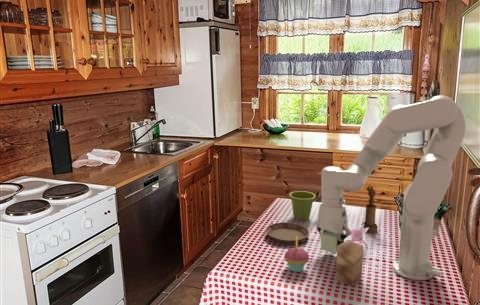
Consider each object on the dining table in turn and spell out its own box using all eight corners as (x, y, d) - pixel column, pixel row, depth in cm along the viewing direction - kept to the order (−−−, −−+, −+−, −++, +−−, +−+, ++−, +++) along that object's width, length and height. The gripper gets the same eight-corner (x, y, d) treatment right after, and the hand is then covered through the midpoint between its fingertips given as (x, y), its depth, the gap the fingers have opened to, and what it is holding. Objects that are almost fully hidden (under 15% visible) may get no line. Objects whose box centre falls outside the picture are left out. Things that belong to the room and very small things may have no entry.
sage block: (343, 248, 144) (343, 233, 143) (334, 253, 140) (334, 238, 139) (329, 243, 148) (329, 229, 147) (320, 249, 144) (320, 234, 143)
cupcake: (283, 262, 140) (283, 231, 137) (307, 262, 139) (308, 231, 137) (285, 274, 131) (285, 242, 129) (310, 275, 131) (311, 242, 128)
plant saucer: (312, 232, 166) (312, 225, 165) (303, 250, 150) (304, 242, 149) (272, 226, 172) (273, 219, 172) (260, 242, 156) (260, 235, 155)
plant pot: (310, 224, 173) (311, 200, 171) (285, 220, 178) (286, 196, 176) (317, 215, 184) (318, 192, 181) (293, 211, 189) (293, 189, 186)
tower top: (362, 262, 127) (363, 245, 126) (353, 269, 123) (354, 251, 122) (346, 256, 131) (347, 240, 130) (336, 262, 127) (337, 245, 126)
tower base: (361, 279, 128) (362, 262, 127) (352, 286, 124) (353, 269, 123) (345, 272, 133) (346, 256, 131) (335, 279, 128) (336, 262, 127)
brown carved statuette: (380, 230, 166) (383, 190, 162) (370, 234, 163) (373, 193, 159) (367, 225, 172) (370, 186, 168) (358, 229, 168) (360, 189, 164)
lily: (353, 241, 159) (343, 223, 156) (381, 237, 152) (371, 218, 149) (347, 262, 149) (336, 243, 147) (377, 258, 143) (366, 238, 140)
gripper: (359, 202, 137) (358, 250, 140) (317, 194, 149) (318, 238, 152) (348, 208, 132) (347, 257, 135) (306, 199, 144) (306, 244, 147)
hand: (332, 246), depth 144 cm, fingers closed on sage block, 6 cm apart
